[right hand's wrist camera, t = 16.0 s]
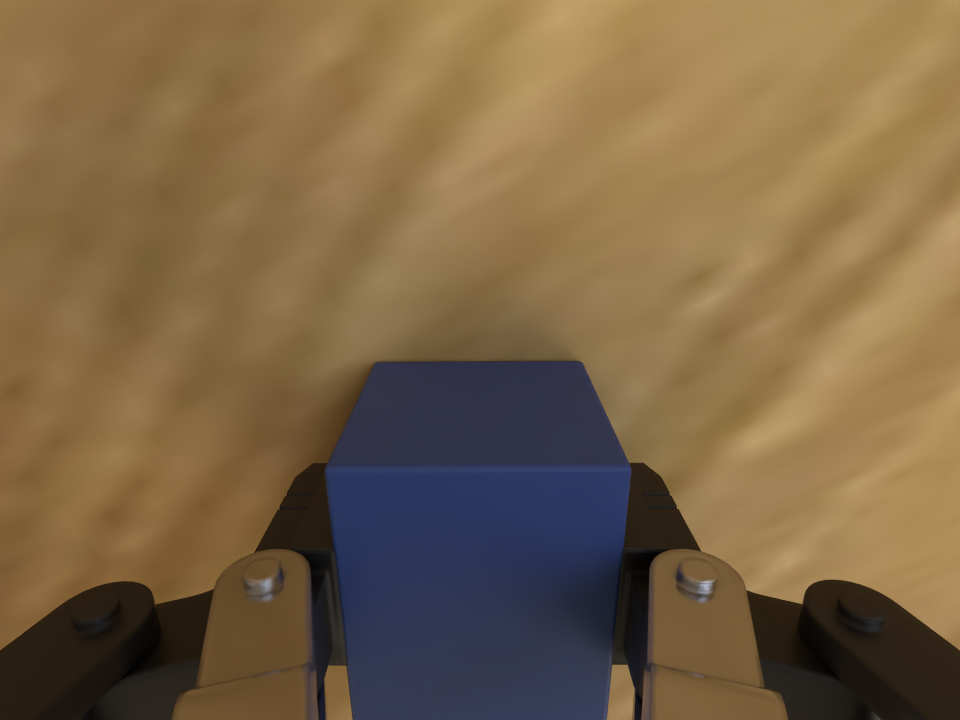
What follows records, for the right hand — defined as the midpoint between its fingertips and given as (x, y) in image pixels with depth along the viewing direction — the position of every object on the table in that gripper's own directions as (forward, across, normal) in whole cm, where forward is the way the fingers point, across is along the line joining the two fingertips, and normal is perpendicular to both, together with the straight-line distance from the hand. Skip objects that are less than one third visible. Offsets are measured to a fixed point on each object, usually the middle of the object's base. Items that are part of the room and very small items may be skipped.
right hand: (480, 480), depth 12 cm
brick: (0, 0, 0) cm, 0 cm away
